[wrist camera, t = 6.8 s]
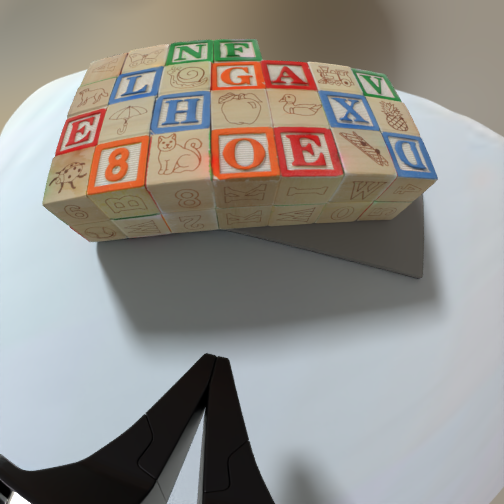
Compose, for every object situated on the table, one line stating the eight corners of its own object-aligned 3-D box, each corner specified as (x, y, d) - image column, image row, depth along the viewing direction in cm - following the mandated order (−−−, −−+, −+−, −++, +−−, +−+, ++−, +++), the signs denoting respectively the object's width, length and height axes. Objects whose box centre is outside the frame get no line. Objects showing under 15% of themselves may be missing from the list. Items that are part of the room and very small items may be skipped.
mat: (418, 278, 18) (422, 277, 18) (99, 201, 18) (97, 198, 18) (414, 143, 22) (416, 140, 21) (164, 83, 22) (163, 79, 22)
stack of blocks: (392, 223, 19) (351, 100, 22) (441, 182, 13) (373, 50, 16) (88, 243, 17) (113, 111, 20) (37, 204, 11) (90, 60, 14)
